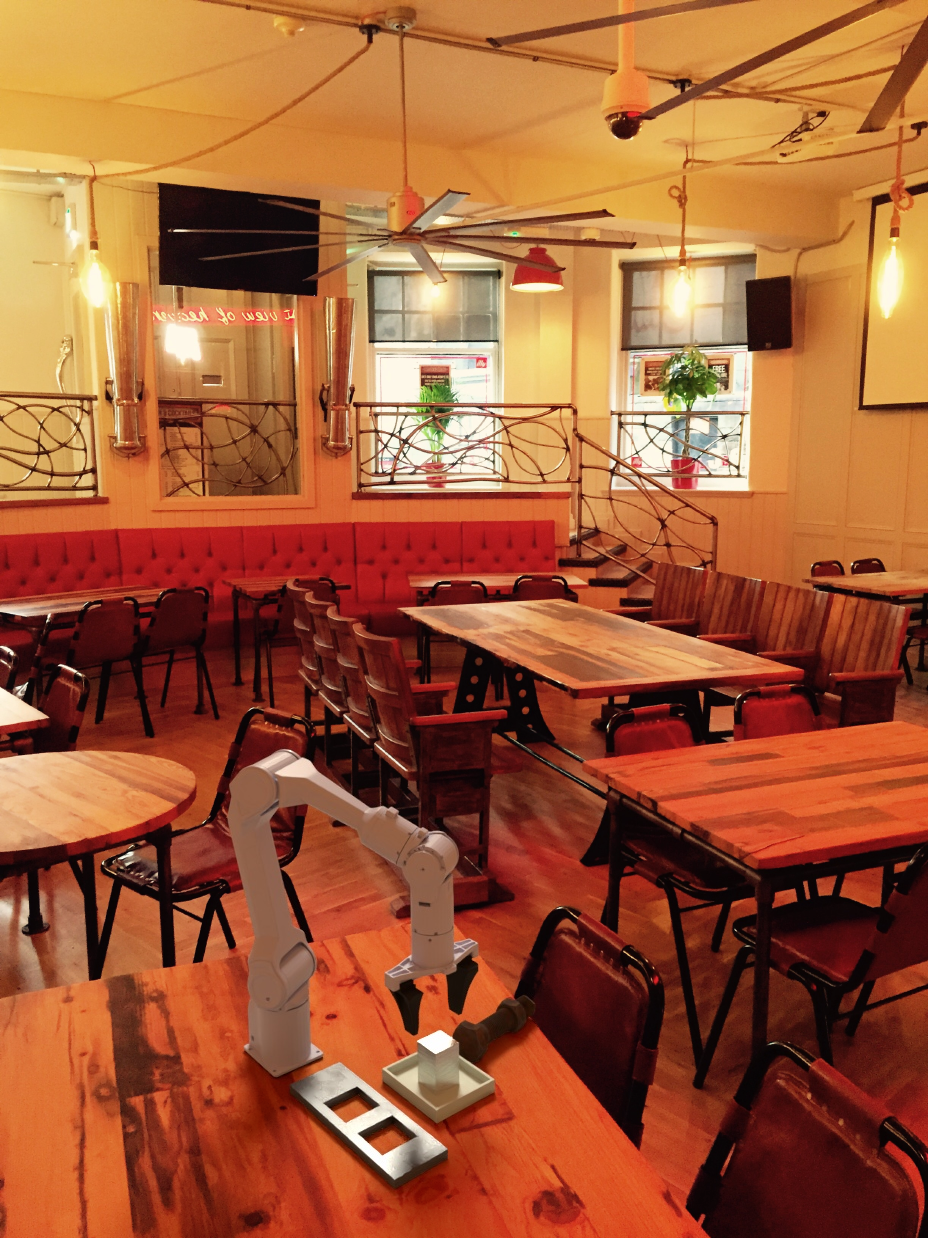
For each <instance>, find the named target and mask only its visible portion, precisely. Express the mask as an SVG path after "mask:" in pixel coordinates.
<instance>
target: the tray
mask: <svg viewBox="0 0 928 1238" xmlns="http://www.w3.org/2000/svg"><path fill="white" fill-rule="evenodd" d="M381 1072H382V1073H381V1077H382V1079H381V1080H382V1082H384V1083H385V1084H386V1085H387V1086H388V1087H390V1088H391V1089H392V1090H394V1091H395V1092H396V1093H397V1094H399V1096H401V1097H402V1098H404V1099H405V1100H406V1101H407V1102H409V1103H410V1104H411V1105H412V1106H414V1107H416V1109H417V1110H419V1111H420V1112H421V1113H423V1114H424V1115H426V1117H428V1118H430V1120H432V1121H433V1122H434V1123H436V1124H438V1123H440V1122H442V1121H444V1120H445V1119H447V1118H450V1117H452V1115H455V1114H457V1113H459V1112H460V1111H462V1110H464V1109H466V1108H468V1107H470V1106H472V1105H473V1104H475V1103H477V1102H478V1101H480V1100H482V1099H484V1098H486V1097H488V1096H490V1095H491V1094H493V1093H495V1092H496V1091H495V1090H496V1087H495V1086H496V1079H495V1078H494V1077H492V1076H491V1075H489V1074H488V1073H486V1072H484V1071H483V1070H482V1069H481V1068H479V1067H477V1066H476V1065H474V1064H473V1063H472V1062H469V1061H467V1060H466V1059H464V1058H463V1057H461V1056H460V1055H459V1084H458V1085H456V1086H454V1087H452V1088H450V1089H448V1090H447V1091H445V1092H443V1093H441V1094H439V1095H437V1096H436V1095H434V1094H433V1093H432V1092H431V1091H429V1090H428V1089H427V1088H425V1087H424V1086H423V1085H421V1084H420V1083H419V1082H418V1055H417V1051H415V1052H414V1053H411V1054H410V1055H407V1056H406V1057H404V1058H401V1059H399V1060H397V1061H395V1062H393V1063H391V1064H388V1065H387V1066H384V1067H383V1068H381Z"/></svg>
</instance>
